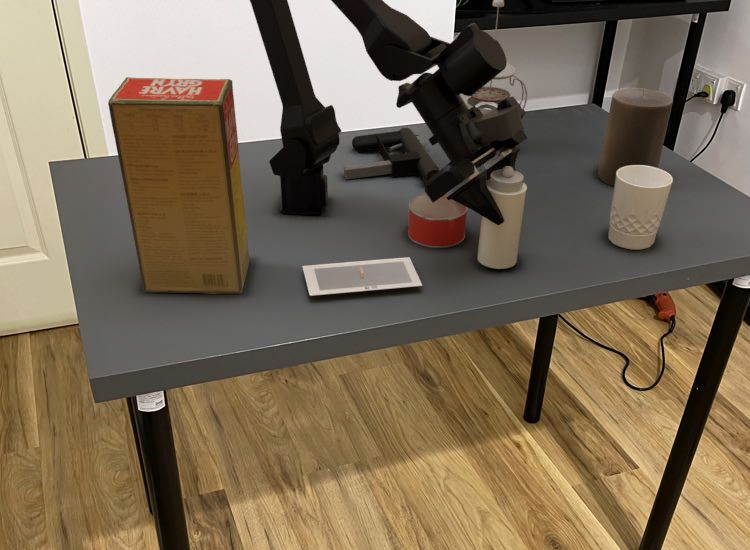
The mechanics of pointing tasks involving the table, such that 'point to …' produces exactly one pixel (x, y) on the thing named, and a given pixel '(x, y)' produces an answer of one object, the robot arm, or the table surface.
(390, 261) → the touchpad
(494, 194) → the pepper mill
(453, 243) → the sauce tin
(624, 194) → the white cup
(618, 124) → the pillar candle
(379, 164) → the door handle
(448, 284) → the table surface
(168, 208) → the food packaging
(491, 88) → the french press
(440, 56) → the robot arm
